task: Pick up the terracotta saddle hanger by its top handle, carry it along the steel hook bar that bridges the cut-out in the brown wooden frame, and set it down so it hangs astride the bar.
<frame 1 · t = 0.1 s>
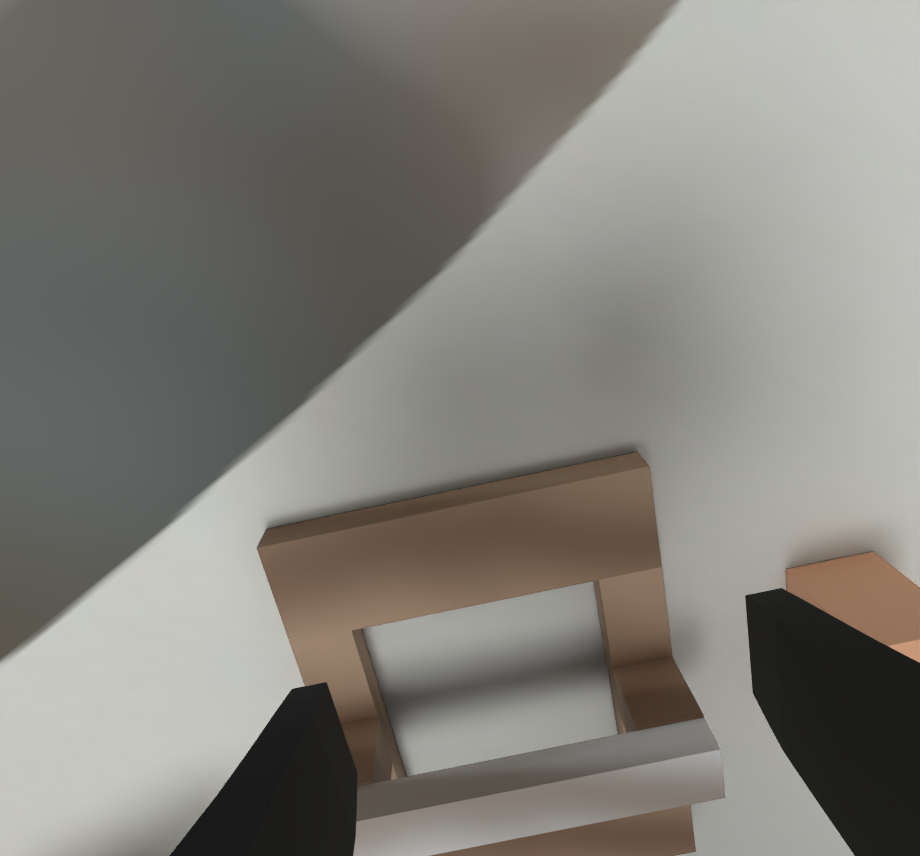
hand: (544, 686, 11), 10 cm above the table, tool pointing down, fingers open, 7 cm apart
brown wooden frame: (497, 691, 24), on the table
saddle hanger: (831, 623, 23), on the table
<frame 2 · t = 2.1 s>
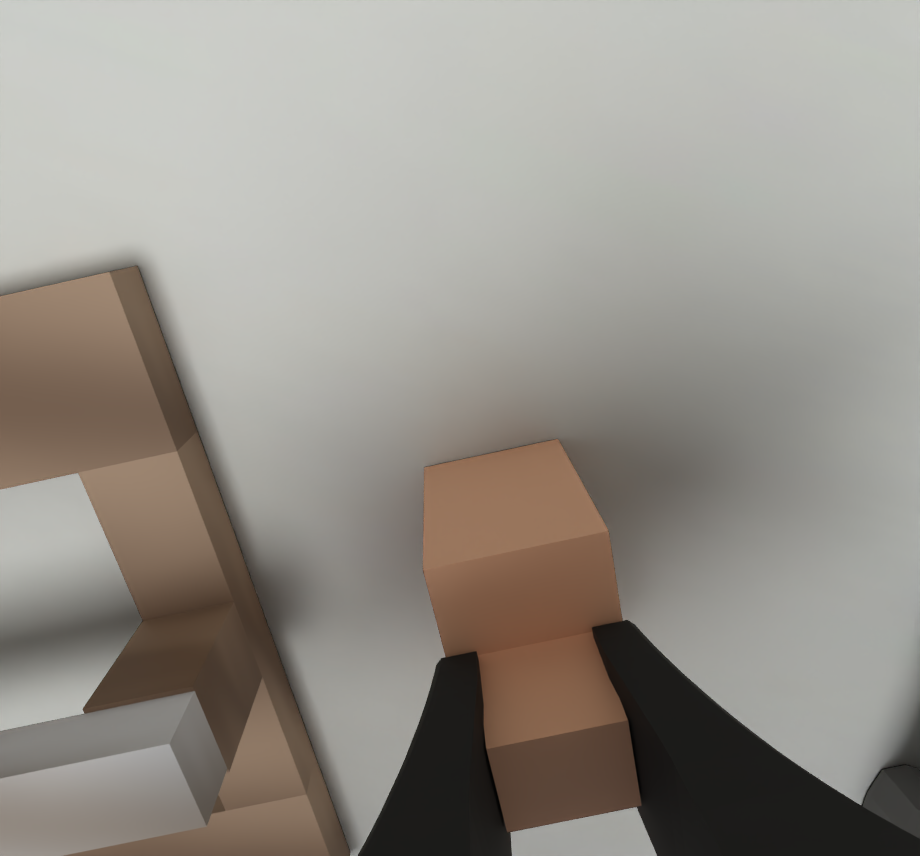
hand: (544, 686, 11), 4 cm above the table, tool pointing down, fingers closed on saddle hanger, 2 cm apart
brown wooden frame: (15, 659, 16), on the table
saddle hanger: (512, 555, 15), on the table, touching gripper
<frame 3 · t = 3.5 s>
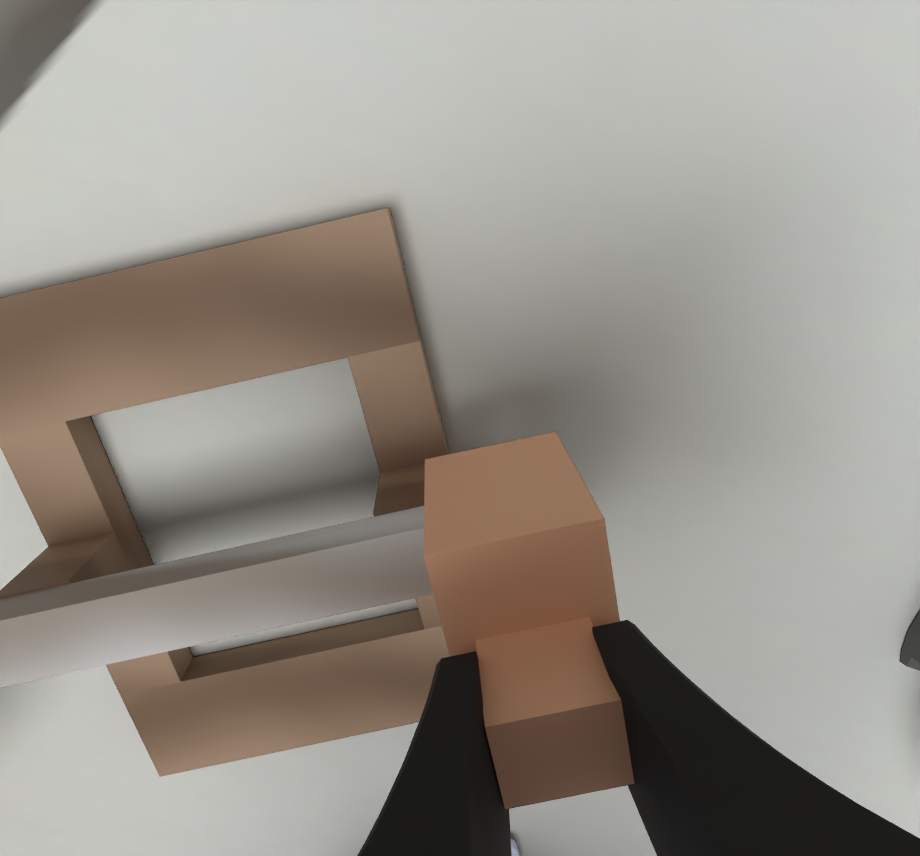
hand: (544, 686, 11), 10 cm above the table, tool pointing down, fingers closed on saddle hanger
brown wooden frame: (266, 514, 21), on the table
saddle hanger: (510, 545, 16), point 5 cm above the table, touching gripper
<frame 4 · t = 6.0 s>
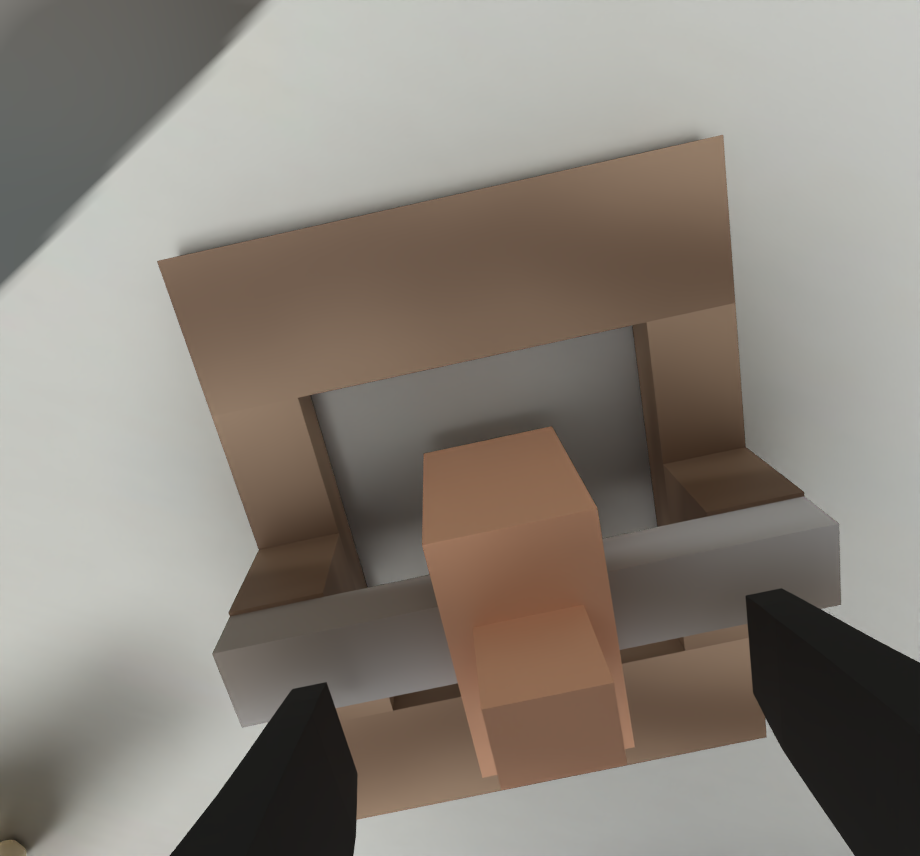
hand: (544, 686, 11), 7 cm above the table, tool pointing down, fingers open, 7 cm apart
brown wooden frame: (502, 513, 17), on the table
saddle hanger: (508, 538, 16), point 1 cm above the table, touching brown wooden frame
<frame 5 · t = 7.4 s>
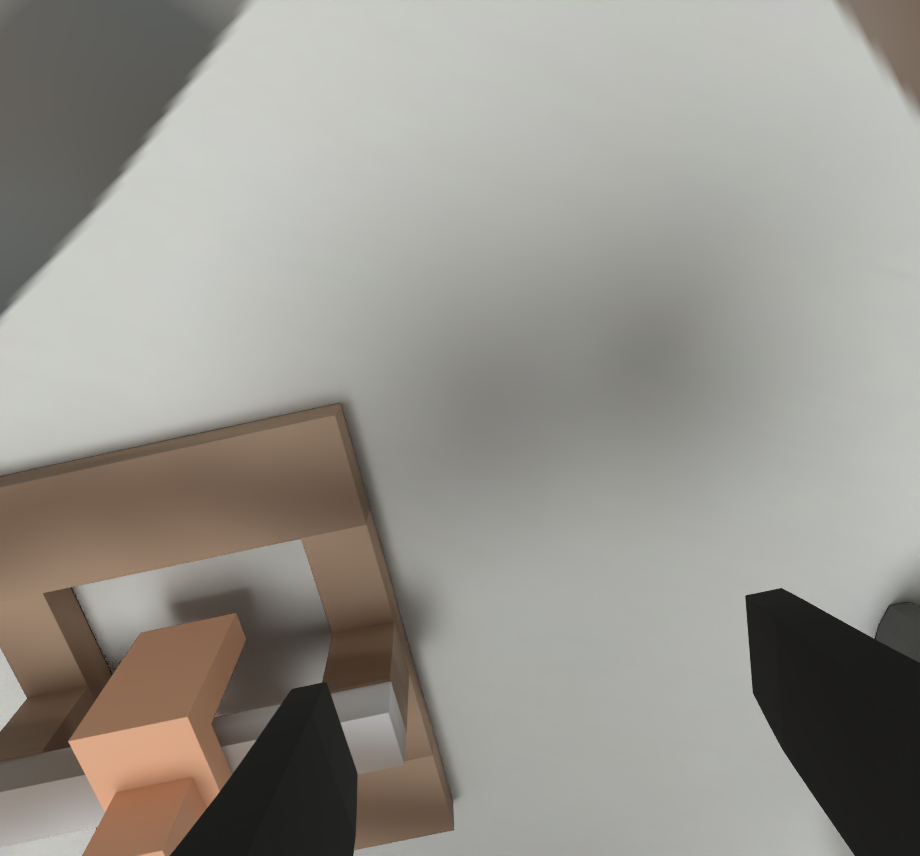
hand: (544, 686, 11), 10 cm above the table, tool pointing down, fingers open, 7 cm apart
brown wooden frame: (230, 661, 22), on the table
giant panda: (897, 726, 25), on the table
saddle hanger: (216, 690, 21), point 1 cm above the table, touching brown wooden frame
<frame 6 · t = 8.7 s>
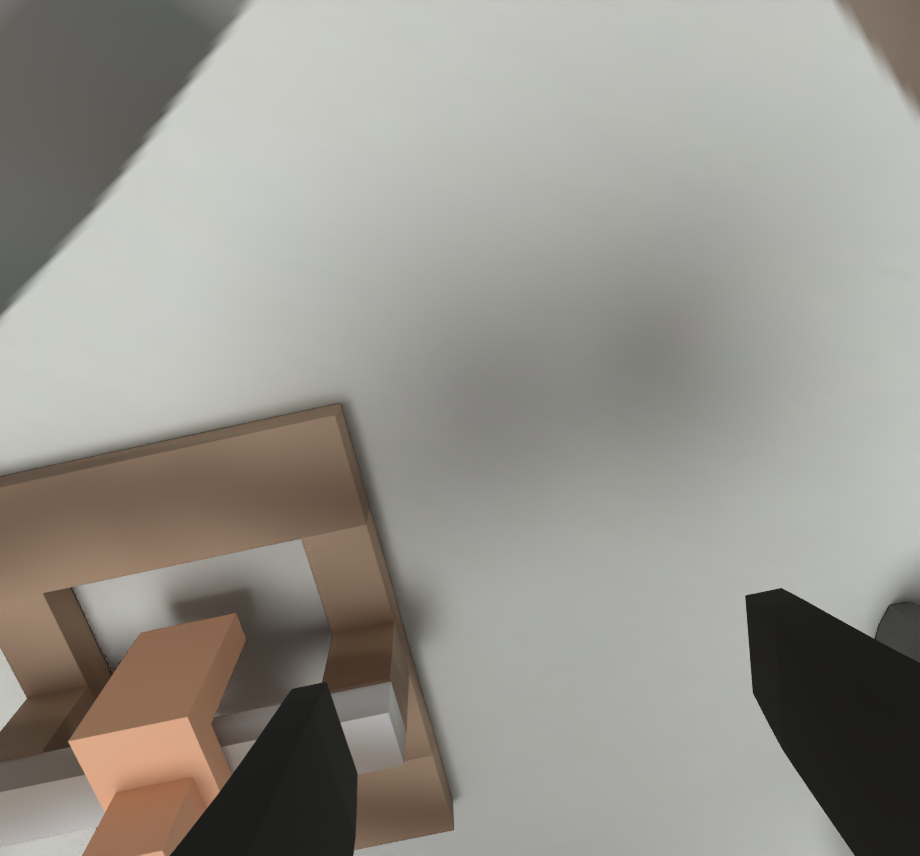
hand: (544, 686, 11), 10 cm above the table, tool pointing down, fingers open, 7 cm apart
brown wooden frame: (230, 661, 22), on the table
giant panda: (897, 726, 25), on the table
saddle hanger: (216, 690, 21), point 1 cm above the table, touching brown wooden frame
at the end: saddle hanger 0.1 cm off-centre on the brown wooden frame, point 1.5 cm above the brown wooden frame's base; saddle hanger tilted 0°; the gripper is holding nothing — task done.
